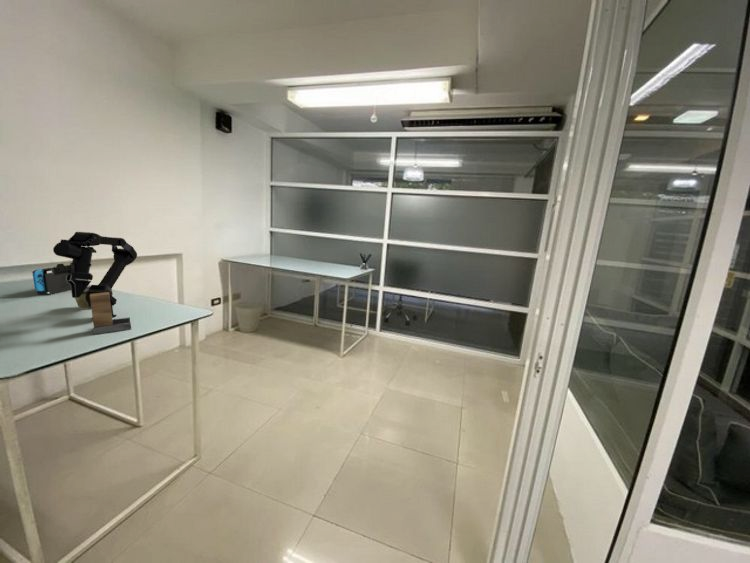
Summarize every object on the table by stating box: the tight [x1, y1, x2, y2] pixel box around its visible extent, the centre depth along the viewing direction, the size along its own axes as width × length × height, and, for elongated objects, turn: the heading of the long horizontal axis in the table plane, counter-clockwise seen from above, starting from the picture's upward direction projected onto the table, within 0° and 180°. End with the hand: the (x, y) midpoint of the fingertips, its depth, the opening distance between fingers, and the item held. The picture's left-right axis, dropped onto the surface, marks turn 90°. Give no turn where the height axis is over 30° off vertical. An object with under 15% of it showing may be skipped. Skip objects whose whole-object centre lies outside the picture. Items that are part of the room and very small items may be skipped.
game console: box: [31, 264, 71, 296], centre depth 179 cm, size 28×6×15 cm, turn 177°
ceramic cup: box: [74, 286, 92, 311], centre depth 154 cm, size 13×10×10 cm
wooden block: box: [90, 292, 113, 328], centre depth 130 cm, size 4×6×15 cm, turn 131°
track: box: [93, 316, 132, 335], centre depth 134 cm, size 12×8×3 cm
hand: (75, 297), depth 129 cm, fingers open, 9 cm apart
